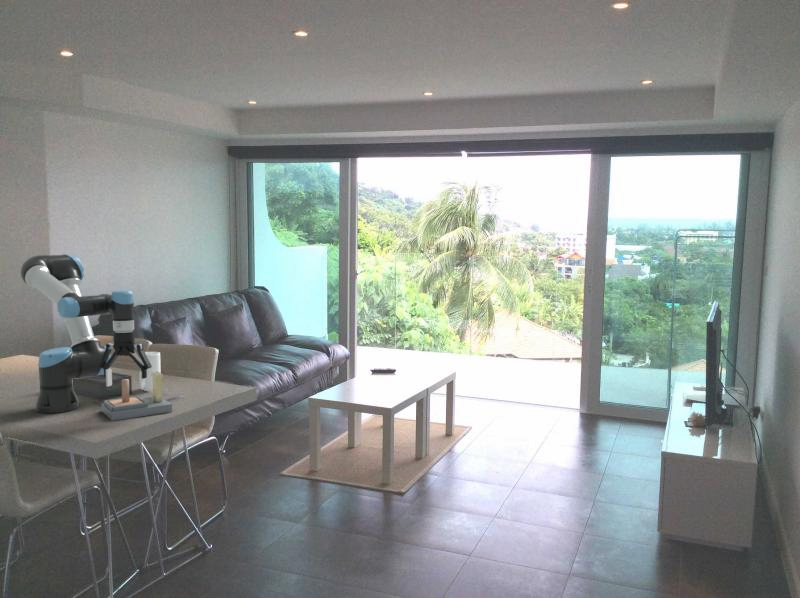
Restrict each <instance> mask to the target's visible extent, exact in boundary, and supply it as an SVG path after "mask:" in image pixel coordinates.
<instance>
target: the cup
mask: <svg viewBox="0 0 800 598" xmlns="http://www.w3.org/2000/svg"><path fill="white" fill-rule="evenodd" d="M144 352H145V354H146V356H147V358H148V360H149V362H150V364H151V366H152V367H151V368H148V369H147V378H145V386H144V387H142V388H140V390H141V391H143V390H144V392H148V390H152V389H153V378H152V376H151V372H155V371H158V372H160V373H161V371H162V369H161V352H160V351H159V352H158V351H144ZM161 374H162V373H161Z"/></svg>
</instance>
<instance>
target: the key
mask: <svg viewBox="0 0 800 598" xmlns="http://www.w3.org/2000/svg"><path fill="white" fill-rule="evenodd" d="M151 376H152V378H153V389H152V390H148V391H147V393H148V394H149V395H152V397H153V400H154V401H155V402H160V401H162V398H163V379H164V374H163V373H160V372H158V371H155V372H151Z"/></svg>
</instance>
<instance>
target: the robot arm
mask: <svg viewBox="0 0 800 598" xmlns="http://www.w3.org/2000/svg"><path fill="white" fill-rule="evenodd" d="M84 269H85V267H84V265H83V263H82V261H81V260H80V259H79V258H78V256H76V255H73V254H57V255H56V254H52V255H51V254H50V255H48V254H47V255H46V254H45V255H42V254H41V255H40V254H39V255H34V256H31V257H28V259H26V260H25V261H24V262H23V263H22V265H21V268H20V276H21V277H20V278H21V279H22V281H23V282H24V283H25V284H26V285H27V286H29V287H30V288H32V289H36V290H38V291H39V292H41V294H43V295H44V296H46V298H48V299H49V300H50V301H51V302H53V303H55V305H57V308H56V309H57V313H58V314H59V316H60V317H62V318H64V321H65V324H66V328H67V331H68V334H69V336H70V339H71V346H70V347H69V346H62V347H56V348H55V347H54V348H50V349H47V350H44V351H42V352H41V353H40V354H39V356H38V364H37V367H38V378H39V380H38V381H39V393H38V396H37V399H36V402H35V411H36V412H37V413H39V414H40V413H41V414H58V413H65V412H69V411H70V412H71V411H74V410H77V409H78V408H79V405H80V403H79V398H78V396H77V393H76V391H75V389H74V388H73V379H78V380H79V379H84V378H85V379H86V378H90V377H97V376H100V375H103V377H104V378H105V383H106V384H105V385H106V386H105V387H110V386H112V385H113V371H112V368H111V366H112V365H113V363H114V362H115V361H116V360H117V358H118V357H121V356H124V357H129V358H131V359H132V360H133V362H134V363H135V364H136V365H137V366H138V368H139V369H140V370H139V372H138V374H139V376H138V377H139V379H138V381H139V388H140V389H141V388H142V387H144V386H145V378H147V369H148V368H151V367H152V366H151V364H150V362H149V360H148V358H147V356H146V354H145V352H146V351H145V349H144V346H143V343H138V344H136V343H135V340H136V339H135V338H136V336H135V335H136V334H135V320H134V319H135V305H134V302H135V300H134V293H133V291H131V290H129V289H128V290H124V289H123V290H122V289H121V290H113V291H112V292H111V294H109V293H101V294H98V295H86V296H85V295H84V296H83V295H82V292H81V289H80V285H82V281H83V279H84V276H85V273H84V271H85V270H84ZM101 315H112V330H113V333H112V339H113V343H112V342H108V343H106V344H105V345H102V343H101V340H100V339H98V338H97V337H95V334H94V331H93V328H92V325H91V321H90V318H89V317H90V316H91V317H92V316H101ZM112 350H114V351H113V353H112ZM135 350H136V351H137V352H136V351H135ZM111 353H112V354H111Z"/></svg>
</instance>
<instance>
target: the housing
mask: <svg viewBox="0 0 800 598" xmlns="http://www.w3.org/2000/svg"><path fill="white" fill-rule="evenodd" d="M133 397H136V398H137V399H139V400H140V401H142V402H143V403H138V404H131V405H124V406H117V407H114V406H113V405H111V404H110V403H109V401H111V400H118V399H122V397H119V398H113V399H105V400H103V403H101V412H102V413H103V414H104V415H105V416H106V415H107V417H108V418H109V419H110V420H111V421H112V422H113V421H121V420H126V419H133V418H139V417H146V416H153V415H160V414H166V413H172V412H173V404H172V403H171V402H169V401H168V400H166V399H164V398H163V397H162V401H160V402H155V401H154V400H153V396H149V397H141V396H138V395H135V396H129V398H133Z"/></svg>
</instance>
